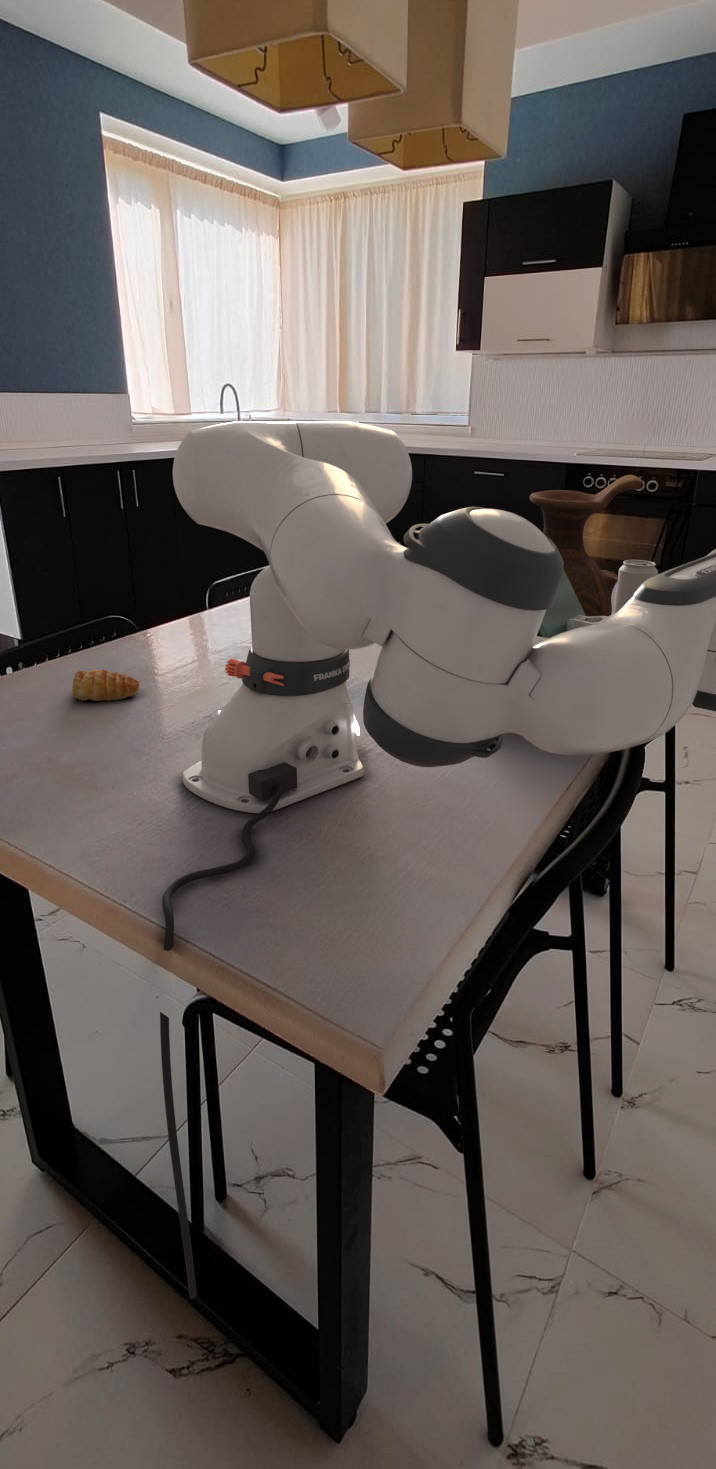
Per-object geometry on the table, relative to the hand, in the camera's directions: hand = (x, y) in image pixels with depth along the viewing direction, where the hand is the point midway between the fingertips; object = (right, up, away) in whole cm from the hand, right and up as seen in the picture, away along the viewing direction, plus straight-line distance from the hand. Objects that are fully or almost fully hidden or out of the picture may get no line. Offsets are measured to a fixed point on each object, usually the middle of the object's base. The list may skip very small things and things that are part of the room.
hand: (571, 623), depth 103 cm
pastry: (-67, -9, +13) cm, 69 cm away
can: (+28, +9, +56) cm, 64 cm away
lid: (-2, +2, +1) cm, 3 cm away
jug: (+7, +2, +40) cm, 41 cm away
